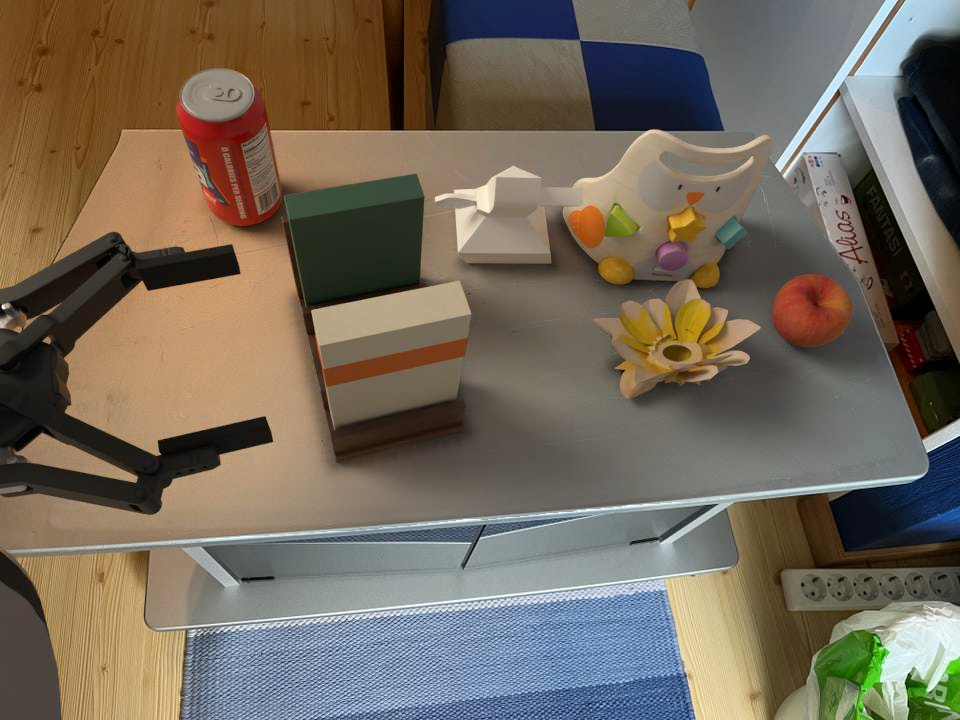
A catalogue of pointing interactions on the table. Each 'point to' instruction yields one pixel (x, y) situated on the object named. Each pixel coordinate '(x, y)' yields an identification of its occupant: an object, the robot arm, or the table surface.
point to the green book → (357, 238)
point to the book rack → (380, 431)
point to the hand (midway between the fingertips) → (252, 339)
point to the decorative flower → (674, 340)
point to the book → (392, 352)
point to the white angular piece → (506, 218)
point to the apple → (811, 310)
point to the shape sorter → (666, 211)
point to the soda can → (230, 145)
